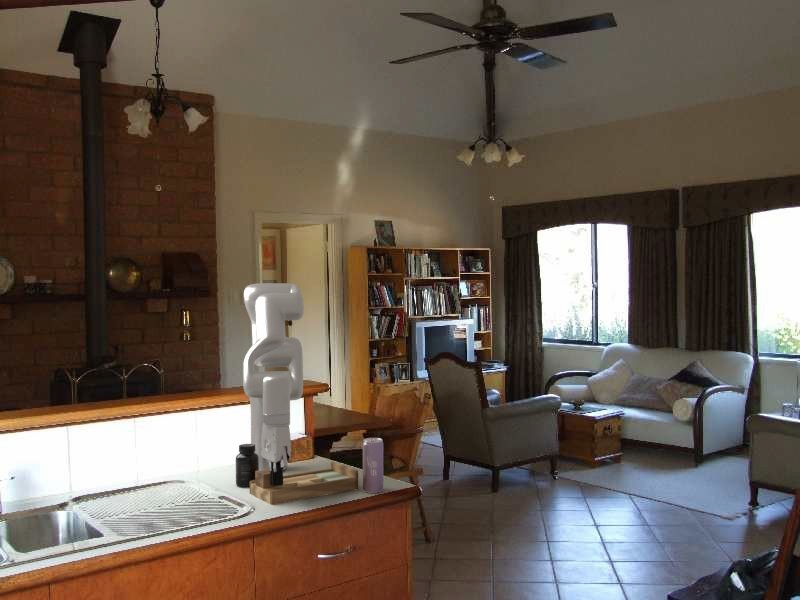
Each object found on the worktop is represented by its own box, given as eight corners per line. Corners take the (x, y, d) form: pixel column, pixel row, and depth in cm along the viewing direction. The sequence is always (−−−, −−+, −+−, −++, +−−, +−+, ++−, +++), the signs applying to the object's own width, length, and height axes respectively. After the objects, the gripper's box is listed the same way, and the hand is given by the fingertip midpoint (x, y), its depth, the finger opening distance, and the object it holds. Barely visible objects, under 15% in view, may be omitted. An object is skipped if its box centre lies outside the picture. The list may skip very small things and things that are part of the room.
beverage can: (384, 488, 240) (384, 437, 239) (381, 494, 234) (382, 442, 233) (364, 488, 240) (364, 437, 240) (361, 493, 234) (361, 441, 234)
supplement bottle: (263, 484, 245) (263, 444, 244) (248, 489, 239) (248, 448, 238) (246, 481, 248) (246, 441, 248) (230, 486, 242) (230, 445, 242)
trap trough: (249, 493, 234) (249, 474, 234) (333, 479, 250) (333, 461, 250) (271, 504, 223) (271, 484, 222) (358, 489, 239) (358, 470, 239)
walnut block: (255, 485, 232) (255, 471, 232) (274, 481, 235) (274, 468, 235) (263, 488, 228) (263, 474, 228) (282, 485, 231) (282, 471, 231)
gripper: (252, 417, 231) (252, 481, 232) (276, 424, 219) (276, 492, 219) (276, 414, 235) (276, 477, 236) (301, 421, 223) (301, 488, 224)
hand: (276, 484), depth 228 cm, fingers closed
